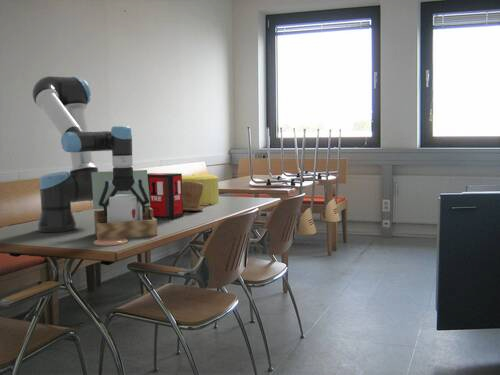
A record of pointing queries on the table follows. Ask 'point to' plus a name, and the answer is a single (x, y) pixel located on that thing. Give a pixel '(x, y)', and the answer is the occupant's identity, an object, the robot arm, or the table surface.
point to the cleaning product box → (165, 195)
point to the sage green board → (99, 185)
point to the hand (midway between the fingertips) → (124, 222)
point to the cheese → (205, 187)
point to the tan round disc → (110, 241)
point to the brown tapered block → (191, 195)
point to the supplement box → (123, 208)
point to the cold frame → (125, 226)
